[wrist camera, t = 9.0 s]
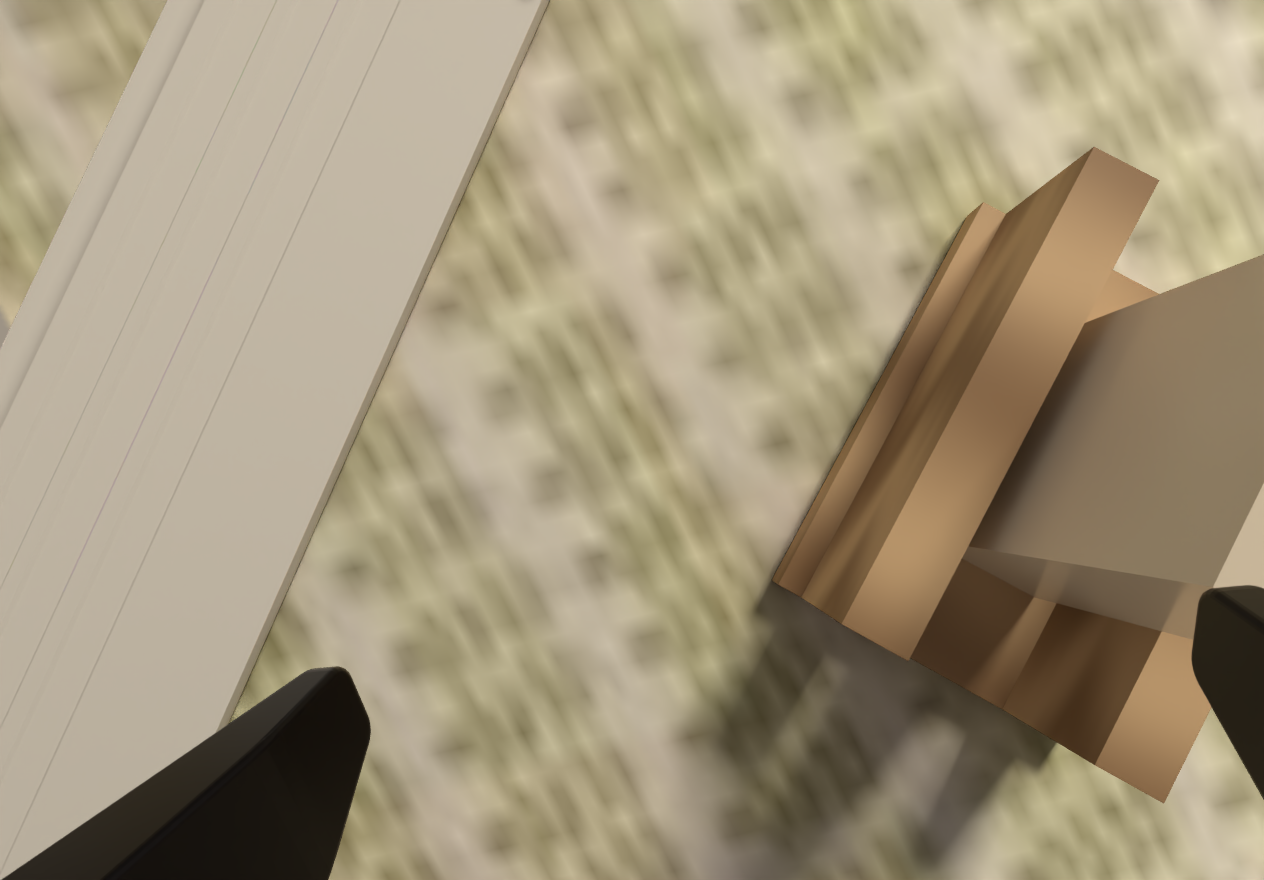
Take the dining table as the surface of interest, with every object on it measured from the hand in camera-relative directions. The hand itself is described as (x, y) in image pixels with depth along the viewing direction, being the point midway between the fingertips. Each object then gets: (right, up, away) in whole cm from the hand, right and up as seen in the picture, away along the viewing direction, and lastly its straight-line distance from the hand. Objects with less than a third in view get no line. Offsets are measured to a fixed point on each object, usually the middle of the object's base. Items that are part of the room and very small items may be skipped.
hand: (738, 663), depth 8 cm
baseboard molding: (-15, +4, +14) cm, 21 cm away
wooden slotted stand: (+10, +1, +13) cm, 16 cm away
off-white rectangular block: (+10, +2, +12) cm, 15 cm away
